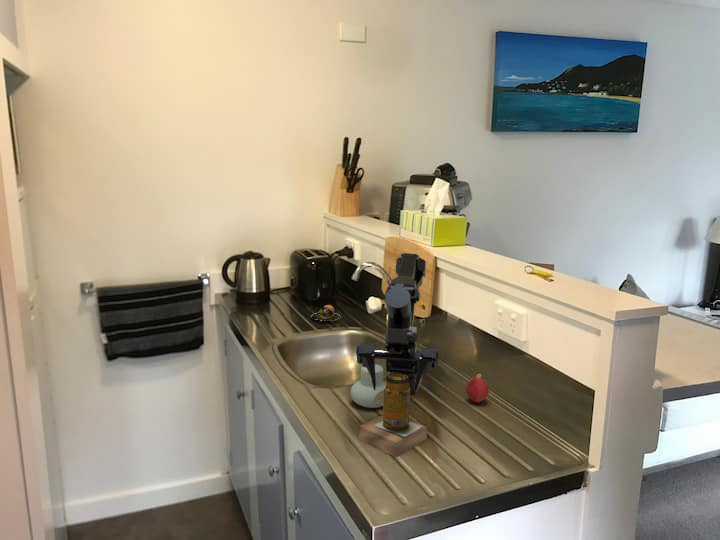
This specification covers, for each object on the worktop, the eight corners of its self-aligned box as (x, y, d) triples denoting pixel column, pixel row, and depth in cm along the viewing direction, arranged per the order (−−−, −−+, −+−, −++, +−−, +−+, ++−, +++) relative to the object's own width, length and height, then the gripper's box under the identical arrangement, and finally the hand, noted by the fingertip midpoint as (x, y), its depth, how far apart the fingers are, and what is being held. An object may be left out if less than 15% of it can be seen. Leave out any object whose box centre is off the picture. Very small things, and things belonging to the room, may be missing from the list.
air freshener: (368, 415, 147) (369, 377, 145) (345, 404, 153) (346, 368, 151) (396, 402, 155) (397, 366, 153) (373, 393, 160) (374, 358, 158)
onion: (471, 408, 153) (473, 379, 151) (461, 399, 158) (463, 371, 157) (491, 406, 154) (493, 377, 153) (481, 397, 160) (483, 369, 158)
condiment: (393, 415, 140) (395, 368, 137) (422, 427, 134) (425, 377, 132) (374, 426, 134) (375, 376, 132) (404, 438, 129) (406, 387, 126)
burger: (308, 316, 231) (308, 298, 230) (337, 315, 235) (337, 297, 233) (314, 325, 220) (314, 306, 219) (344, 324, 223) (344, 305, 222)
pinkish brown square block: (359, 441, 135) (359, 425, 134) (389, 426, 143) (390, 411, 142) (395, 459, 127) (396, 443, 127) (426, 442, 135) (427, 426, 135)
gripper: (358, 310, 134) (351, 373, 125) (440, 315, 132) (439, 379, 124) (360, 332, 143) (354, 393, 135) (437, 337, 141) (435, 398, 133)
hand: (394, 390), depth 131 cm, fingers open, 9 cm apart
